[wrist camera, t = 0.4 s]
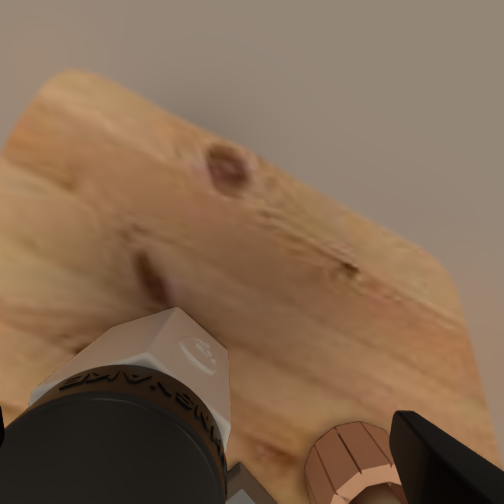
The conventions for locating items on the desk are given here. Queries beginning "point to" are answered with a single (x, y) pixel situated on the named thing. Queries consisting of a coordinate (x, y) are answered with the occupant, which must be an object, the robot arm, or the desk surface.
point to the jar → (126, 421)
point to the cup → (350, 464)
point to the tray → (245, 488)
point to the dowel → (376, 495)
